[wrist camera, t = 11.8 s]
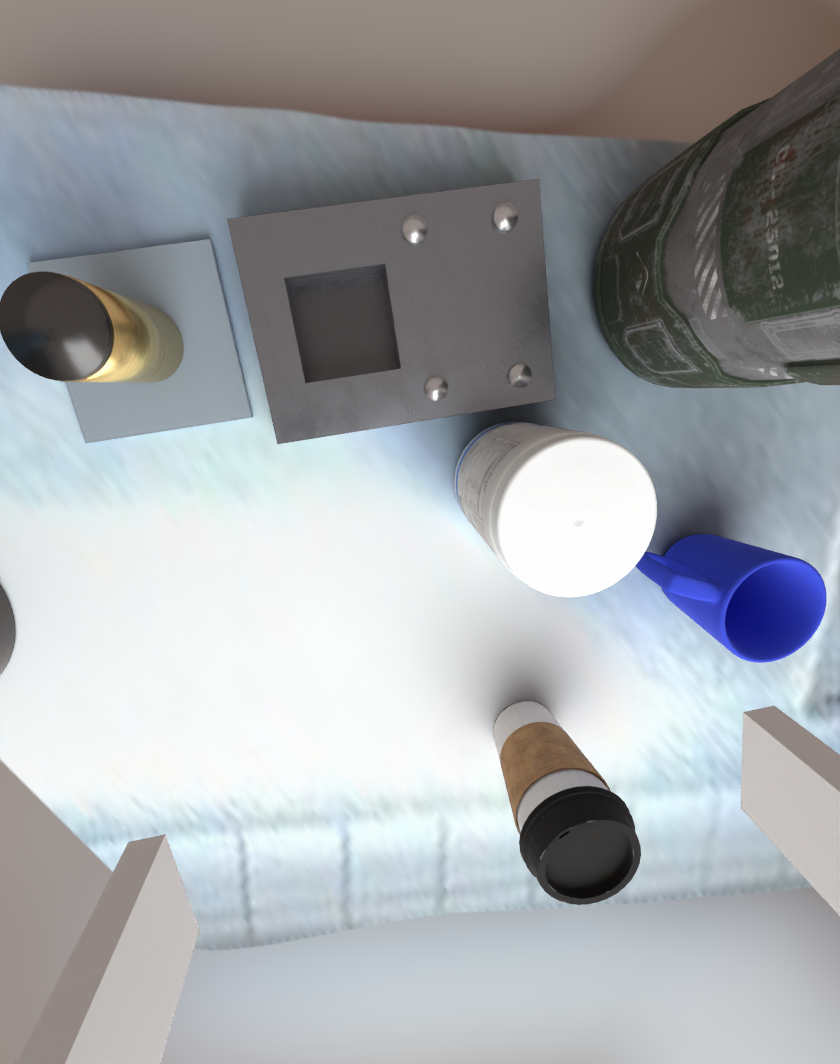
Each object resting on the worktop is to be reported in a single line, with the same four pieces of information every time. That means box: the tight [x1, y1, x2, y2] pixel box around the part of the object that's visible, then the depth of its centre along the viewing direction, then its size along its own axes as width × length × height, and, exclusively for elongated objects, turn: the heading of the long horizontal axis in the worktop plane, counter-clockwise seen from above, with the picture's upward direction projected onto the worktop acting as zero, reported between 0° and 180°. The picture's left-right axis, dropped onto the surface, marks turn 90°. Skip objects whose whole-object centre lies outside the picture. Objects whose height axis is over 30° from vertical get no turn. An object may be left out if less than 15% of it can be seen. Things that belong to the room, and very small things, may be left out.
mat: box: [27, 239, 253, 443], centre depth 37 cm, size 12×12×1 cm
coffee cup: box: [493, 701, 641, 905], centre depth 42 cm, size 8×8×15 cm
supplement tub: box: [454, 421, 657, 597], centre depth 36 cm, size 10×10×15 cm
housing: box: [227, 179, 555, 444], centre depth 36 cm, size 20×14×4 cm
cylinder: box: [0, 271, 184, 383], centre depth 31 cm, size 5×5×11 cm
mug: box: [636, 534, 826, 663], centre depth 41 cm, size 8×12×10 cm
